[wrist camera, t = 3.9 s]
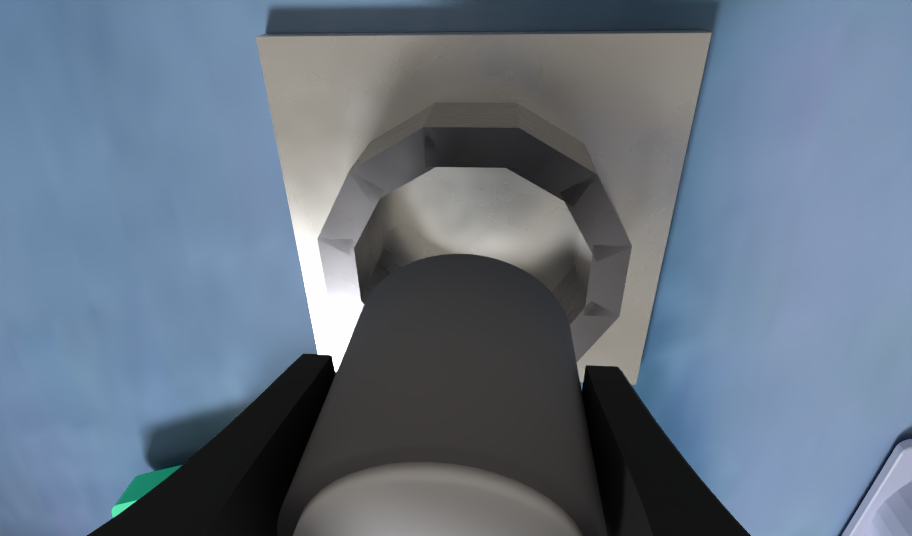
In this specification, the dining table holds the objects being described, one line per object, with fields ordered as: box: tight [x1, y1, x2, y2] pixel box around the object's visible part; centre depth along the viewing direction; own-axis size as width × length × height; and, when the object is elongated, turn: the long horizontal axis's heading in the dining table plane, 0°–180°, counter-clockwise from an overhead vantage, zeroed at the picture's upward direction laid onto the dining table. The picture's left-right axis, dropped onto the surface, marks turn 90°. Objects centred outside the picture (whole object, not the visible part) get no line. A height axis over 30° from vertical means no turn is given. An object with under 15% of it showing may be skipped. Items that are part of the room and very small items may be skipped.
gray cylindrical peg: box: [277, 254, 608, 536], centre depth 10 cm, size 5×5×5 cm
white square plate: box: [256, 30, 712, 384], centre depth 16 cm, size 12×12×3 cm
